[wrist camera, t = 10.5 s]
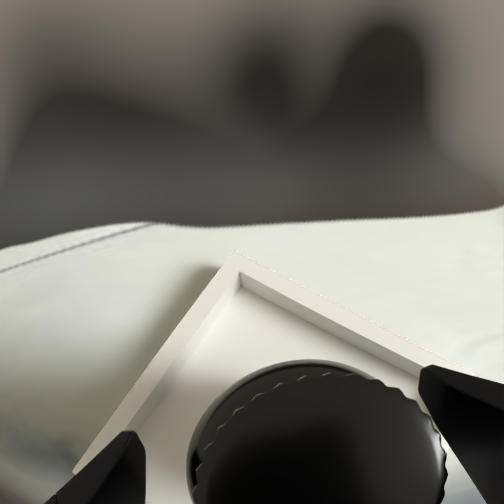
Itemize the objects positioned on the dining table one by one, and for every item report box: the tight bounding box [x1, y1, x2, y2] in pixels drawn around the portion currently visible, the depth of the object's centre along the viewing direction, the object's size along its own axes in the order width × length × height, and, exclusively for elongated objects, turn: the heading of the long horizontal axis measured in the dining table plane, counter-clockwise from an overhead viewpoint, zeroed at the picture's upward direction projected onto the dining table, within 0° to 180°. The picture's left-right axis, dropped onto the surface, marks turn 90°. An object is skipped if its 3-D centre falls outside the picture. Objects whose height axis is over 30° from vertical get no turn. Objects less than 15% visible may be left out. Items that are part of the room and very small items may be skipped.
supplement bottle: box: [186, 359, 448, 504], centre depth 9 cm, size 7×7×12 cm
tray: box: [72, 250, 476, 504], centre depth 14 cm, size 16×16×2 cm
